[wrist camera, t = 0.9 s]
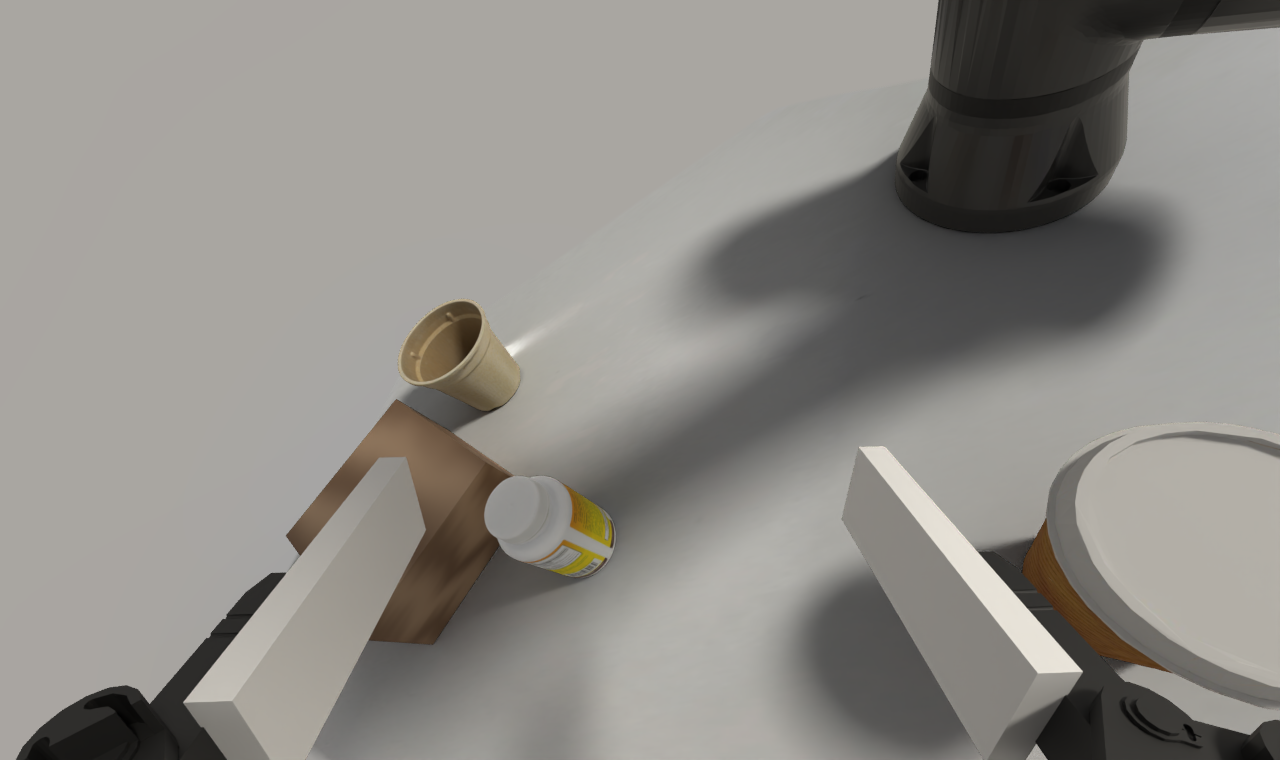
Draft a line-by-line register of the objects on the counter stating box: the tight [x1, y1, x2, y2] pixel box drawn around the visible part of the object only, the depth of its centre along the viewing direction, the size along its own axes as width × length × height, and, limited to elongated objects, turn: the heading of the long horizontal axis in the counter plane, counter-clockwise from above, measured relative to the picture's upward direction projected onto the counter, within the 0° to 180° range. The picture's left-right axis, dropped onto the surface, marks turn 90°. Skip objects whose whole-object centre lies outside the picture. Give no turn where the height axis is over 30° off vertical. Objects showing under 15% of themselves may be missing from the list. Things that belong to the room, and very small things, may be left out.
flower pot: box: [398, 299, 520, 411], centre depth 46 cm, size 9×9×9 cm
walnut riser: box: [286, 399, 514, 645], centre depth 40 cm, size 14×14×7 cm
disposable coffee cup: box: [1022, 422, 1280, 710], centre depth 20 cm, size 10×10×12 cm
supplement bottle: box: [484, 476, 616, 578], centre depth 33 cm, size 6×6×10 cm
